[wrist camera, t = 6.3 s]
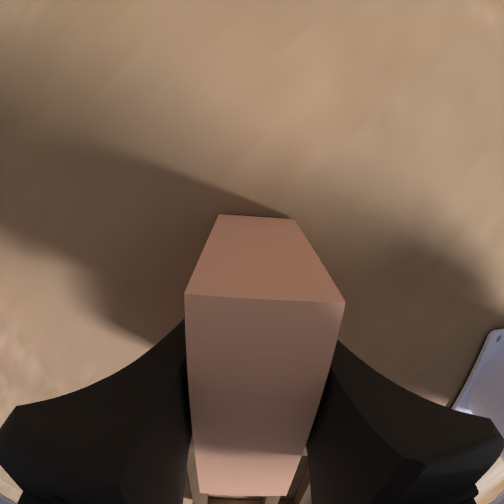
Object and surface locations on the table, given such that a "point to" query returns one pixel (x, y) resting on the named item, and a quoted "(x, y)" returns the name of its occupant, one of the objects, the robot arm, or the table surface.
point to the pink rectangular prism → (257, 352)
